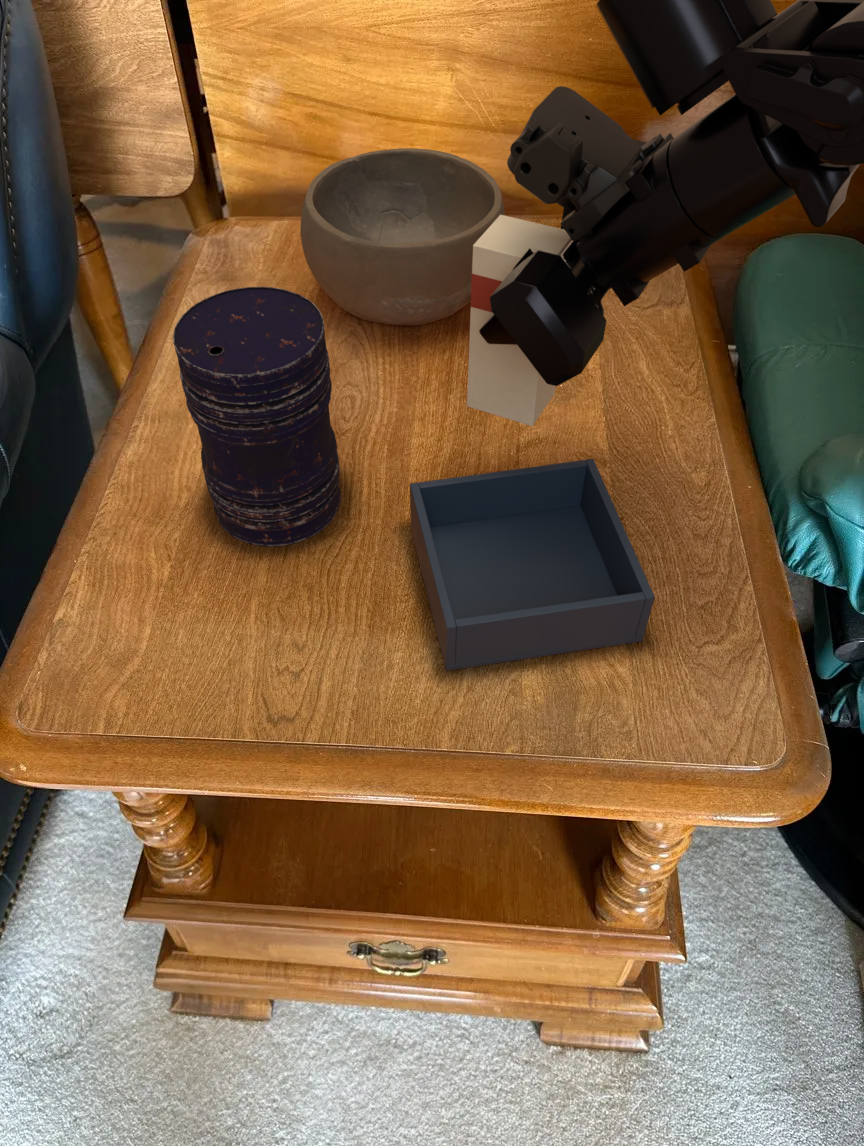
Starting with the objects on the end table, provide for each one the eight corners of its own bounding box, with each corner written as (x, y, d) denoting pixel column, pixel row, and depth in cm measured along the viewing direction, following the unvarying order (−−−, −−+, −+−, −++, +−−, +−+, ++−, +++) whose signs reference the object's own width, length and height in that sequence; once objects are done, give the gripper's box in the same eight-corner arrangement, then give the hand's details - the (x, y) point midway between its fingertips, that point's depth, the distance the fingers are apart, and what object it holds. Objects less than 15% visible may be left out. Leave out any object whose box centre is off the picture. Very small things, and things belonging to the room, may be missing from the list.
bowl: (530, 325, 85) (540, 217, 77) (341, 371, 82) (332, 263, 74) (457, 232, 96) (459, 128, 88) (286, 270, 92) (273, 166, 84)
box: (585, 504, 71) (593, 458, 67) (642, 641, 63) (655, 597, 59) (410, 528, 70) (409, 483, 67) (445, 671, 62) (446, 627, 58)
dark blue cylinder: (277, 440, 77) (249, 269, 65) (369, 492, 73) (358, 319, 61) (185, 508, 72) (138, 338, 61) (278, 568, 68) (247, 397, 56)
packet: (555, 393, 67) (576, 231, 58) (532, 427, 65) (550, 264, 56) (490, 374, 69) (500, 213, 59) (466, 406, 67) (472, 245, 57)
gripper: (673, -13, 53) (483, 152, 65) (541, 128, 43) (346, 292, 55) (776, 159, 56) (578, 285, 69) (676, 326, 47) (465, 438, 59)
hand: (498, 318), depth 63 cm, fingers closed on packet, 4 cm apart
